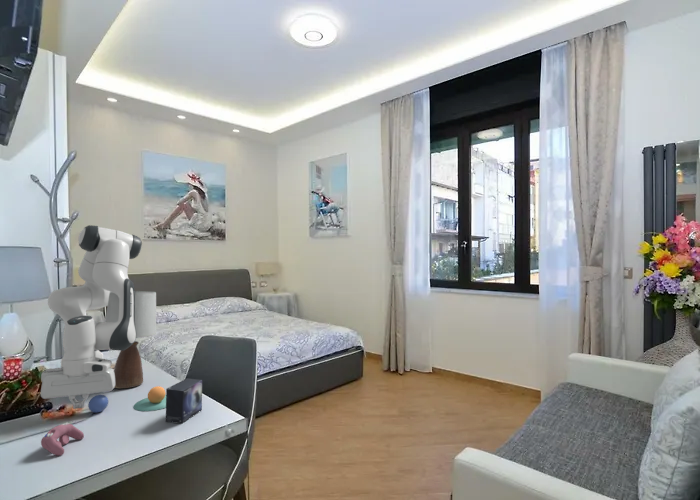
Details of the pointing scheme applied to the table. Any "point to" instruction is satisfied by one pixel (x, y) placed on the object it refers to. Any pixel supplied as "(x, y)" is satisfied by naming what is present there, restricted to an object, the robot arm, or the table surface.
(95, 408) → the blue ball
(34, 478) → the table surface
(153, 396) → the object ball
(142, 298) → the lamp
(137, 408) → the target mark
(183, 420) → the small box
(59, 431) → the video game controller
